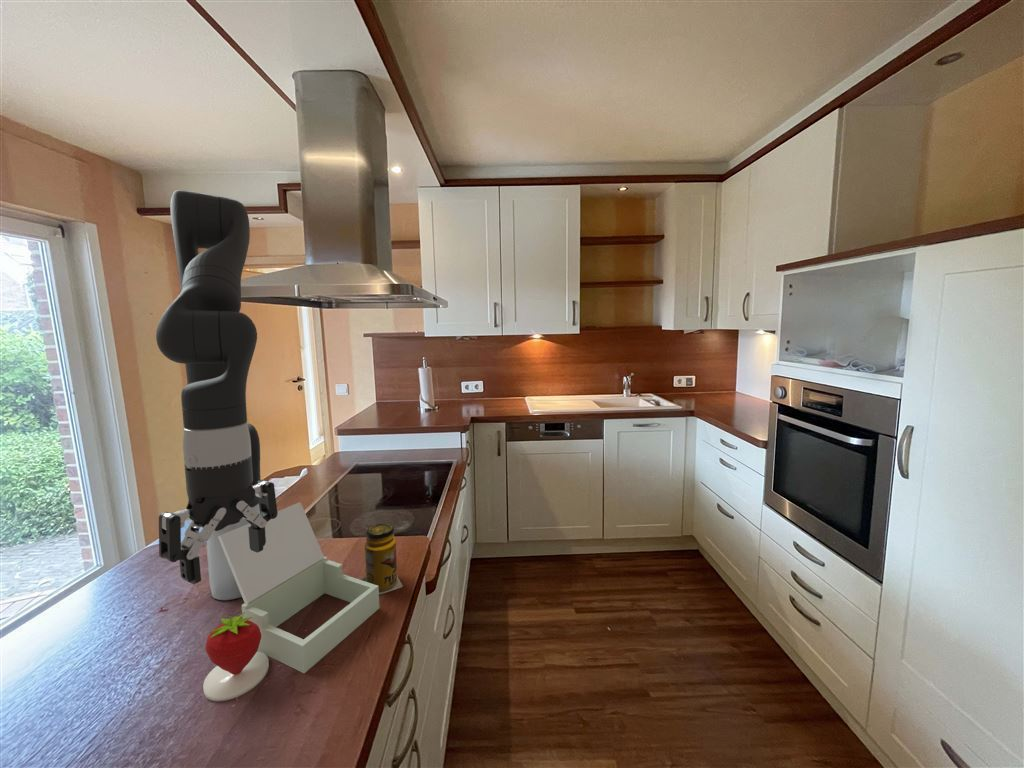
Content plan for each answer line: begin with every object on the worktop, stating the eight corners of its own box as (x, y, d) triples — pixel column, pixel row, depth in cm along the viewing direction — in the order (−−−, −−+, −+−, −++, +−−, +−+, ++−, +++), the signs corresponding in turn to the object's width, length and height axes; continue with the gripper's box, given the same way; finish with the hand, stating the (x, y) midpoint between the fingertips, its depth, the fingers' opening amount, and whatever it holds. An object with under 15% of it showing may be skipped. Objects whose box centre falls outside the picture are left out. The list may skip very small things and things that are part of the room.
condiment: (403, 587, 81) (401, 531, 80) (360, 602, 76) (357, 542, 75) (392, 569, 87) (391, 517, 86) (351, 582, 82) (349, 527, 81)
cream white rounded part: (191, 688, 57) (190, 683, 57) (247, 649, 64) (247, 644, 64) (225, 709, 54) (225, 704, 54) (280, 666, 61) (280, 661, 61)
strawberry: (239, 697, 55) (236, 630, 54) (195, 685, 57) (191, 620, 55) (273, 663, 61) (270, 602, 60) (232, 654, 62) (229, 594, 61)
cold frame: (222, 633, 68) (214, 535, 66) (304, 581, 82) (300, 500, 80) (304, 673, 60) (297, 563, 58) (379, 608, 74) (376, 518, 72)
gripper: (252, 440, 63) (258, 536, 65) (140, 467, 50) (152, 586, 52) (284, 447, 60) (290, 547, 62) (173, 476, 47) (184, 602, 49)
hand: (227, 565), depth 57 cm, fingers open, 8 cm apart
